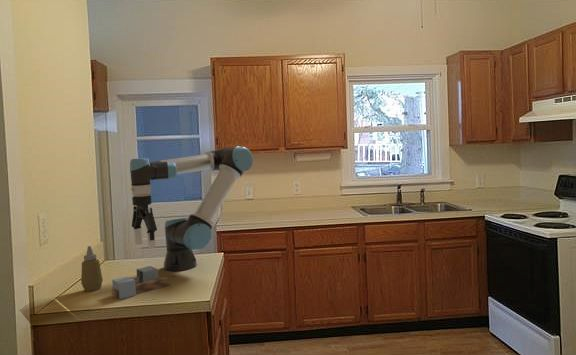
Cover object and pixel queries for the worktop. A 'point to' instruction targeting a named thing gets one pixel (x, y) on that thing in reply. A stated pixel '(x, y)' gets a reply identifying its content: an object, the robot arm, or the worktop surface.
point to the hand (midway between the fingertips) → (145, 246)
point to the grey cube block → (147, 274)
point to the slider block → (125, 286)
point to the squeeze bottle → (91, 272)
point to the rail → (147, 286)
